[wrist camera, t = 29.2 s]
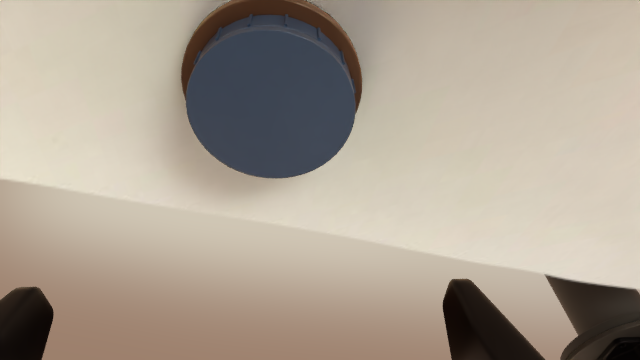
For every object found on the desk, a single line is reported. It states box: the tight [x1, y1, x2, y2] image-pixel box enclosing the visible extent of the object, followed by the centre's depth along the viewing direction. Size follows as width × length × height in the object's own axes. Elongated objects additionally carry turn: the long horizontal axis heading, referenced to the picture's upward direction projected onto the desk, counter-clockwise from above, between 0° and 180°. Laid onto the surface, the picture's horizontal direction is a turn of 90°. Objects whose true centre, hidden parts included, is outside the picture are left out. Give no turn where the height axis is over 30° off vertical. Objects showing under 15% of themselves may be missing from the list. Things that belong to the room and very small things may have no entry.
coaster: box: [181, 0, 362, 114], centre depth 17 cm, size 7×7×1 cm
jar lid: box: [186, 14, 356, 178], centre depth 17 cm, size 6×6×2 cm
